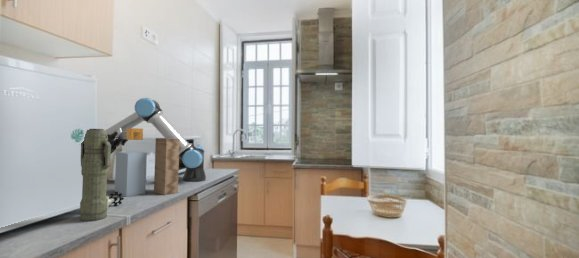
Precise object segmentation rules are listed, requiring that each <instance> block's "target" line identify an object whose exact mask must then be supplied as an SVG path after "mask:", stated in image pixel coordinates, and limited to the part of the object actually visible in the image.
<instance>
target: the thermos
mask: <svg viewBox="0 0 579 258" xmlns="http://www.w3.org/2000/svg"><path fill="white" fill-rule="evenodd" d="M85 133H86V134H85V137H84V141H83V142H82V143H81V145H80V167H81V175H82V192H81V200H80V202H79V214H80V219H79V220H80V221H81V222H96V221H101V220H104V219H106V218H107V214H108V212H107V205H108V200H107V197H106V195H107V187H108V185H107V183H108V182H107V181H108V180H107V179H108V178H107V177H108V174H109V167H110V166H111V155H112V154H111V144H110V142H108V136H107V133H106V129H104V128H89V129H86V131H85Z"/></svg>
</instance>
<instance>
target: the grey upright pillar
mask: <svg viewBox="0 0 579 258" xmlns="http://www.w3.org/2000/svg"><path fill="white" fill-rule="evenodd" d="M147 158H148V157H147V152H142V151H133V150H132V151H130V150H129V151H116V152H115V172H114V173H115V174H114V175H115V178H114V179H115V180H114V192H116V191H118V194H120V193H122V195H121V196H123V197H126V198H127V197H132V196H137V195H144V194H146V187H147V186H146V184H147V183H146V181H147Z"/></svg>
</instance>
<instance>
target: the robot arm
mask: <svg viewBox="0 0 579 258" xmlns="http://www.w3.org/2000/svg"><path fill="white" fill-rule="evenodd" d="M134 111H135V112H133V113H132V114H130V115H128V116H126V117H125V118H124V119H121V120H120V121H118V122H117V123H115V124H113V125H112V126H110V127H108V128H106V129H105V130H106V133H107V136H108V142H110V144H111V155H112V154H113V153H114V152H115V151H116V150H117V147H119V146H125V144H126V143H127V142H128V141H129V140H126V139H118V138H117V137H118V136H119V135H120V134H121V133H122V131H127V128H136V126H138V125H139V124H141V123H143V122H146V123H147V124H152V126H153V127H154V128H155V129H156V130H157V131H158V132H159V133H160V134H161V135H162V137H163V138H175V139H180V142H179V160H181V161H182V164H183V165H184V166H185V170H184V173H183V176H182V181H185V182H203V181H202V180H204V181H206V180H207V176H206V172H205V169H204V166H205V163H204V162H205V147H204V146H195V144H194V143H189V141H187V140H186V139H185V138H184V136H183V135H182V134H181V133H180V132H179V131H178V130H177V128H176V127H174V125H173V124H172V123H171V122H170V121H169V120H168V118H166V116H165V115H164V111H163V109H161V107H160V104H159V103H158V102H157V101H156V100H154V99H151V98H149V97H142V98H139V99H138V100H136V102H135V104H134ZM114 131H116V132H114ZM205 179H206V180H205Z"/></svg>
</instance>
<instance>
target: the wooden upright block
mask: <svg viewBox="0 0 579 258" xmlns="http://www.w3.org/2000/svg"><path fill="white" fill-rule="evenodd" d="M179 142H180V139H175V138H164V137H156V138H155V146H154V147H155V148H154V151H155V153H154V179H153V182H154V183H153V184H154V185H153V193H154V194H159V195H161V196H162V195H163V196H167V195H174V194H177V193H179V173H180V172H179V168H180V163H179V162H180V158H179Z"/></svg>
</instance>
